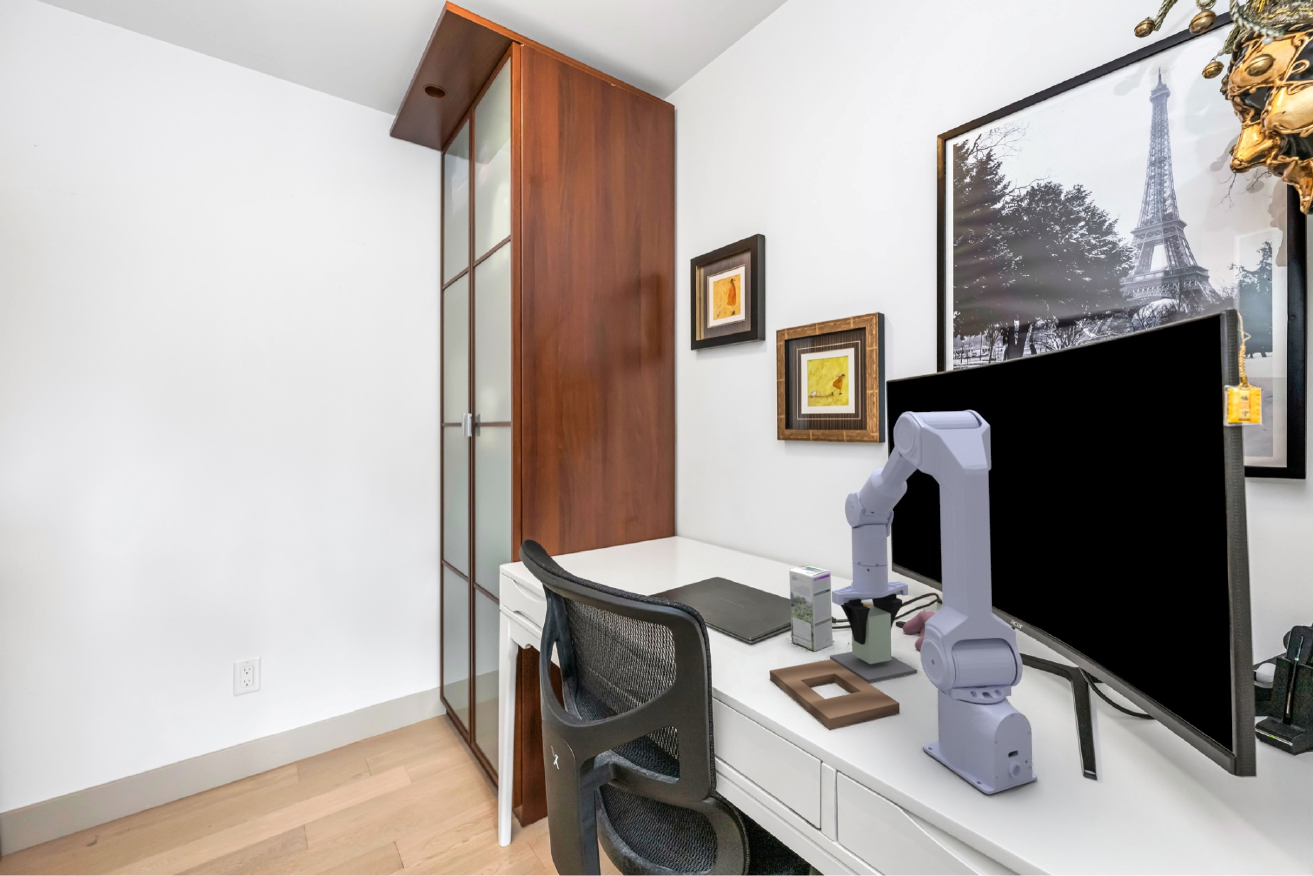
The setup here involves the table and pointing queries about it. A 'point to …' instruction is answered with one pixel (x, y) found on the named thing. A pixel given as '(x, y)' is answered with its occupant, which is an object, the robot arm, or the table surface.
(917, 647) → the video game controller
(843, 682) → the board
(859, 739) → the table surface
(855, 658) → the charcoal mat
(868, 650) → the sage block
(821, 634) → the syrup box
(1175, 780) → the table surface
